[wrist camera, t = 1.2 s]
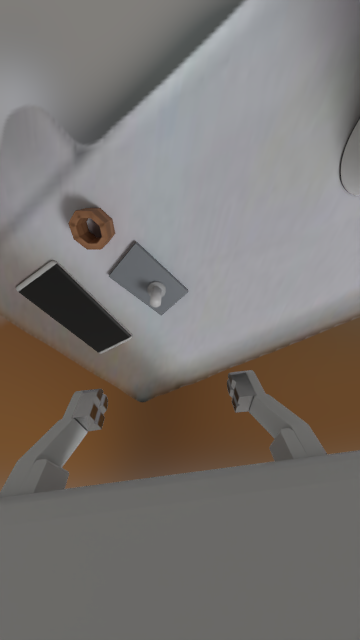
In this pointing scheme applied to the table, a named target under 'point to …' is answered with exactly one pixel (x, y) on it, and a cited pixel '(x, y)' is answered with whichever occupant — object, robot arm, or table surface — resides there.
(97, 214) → the ring
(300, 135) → the table surface
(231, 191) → the table surface
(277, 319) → the table surface
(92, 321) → the smartphone
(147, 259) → the post stand
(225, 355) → the table surface
